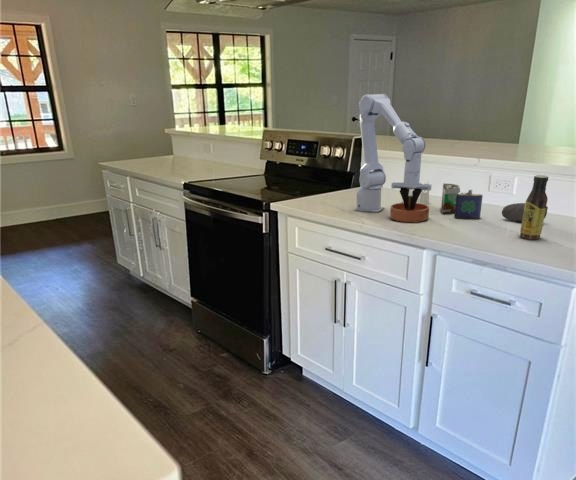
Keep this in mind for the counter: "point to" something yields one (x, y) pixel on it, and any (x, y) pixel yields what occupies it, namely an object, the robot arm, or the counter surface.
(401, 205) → the bowl
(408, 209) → the stick
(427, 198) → the shaker set
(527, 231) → the sauce bottle
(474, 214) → the flask
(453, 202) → the food container
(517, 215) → the perforated stone tool
